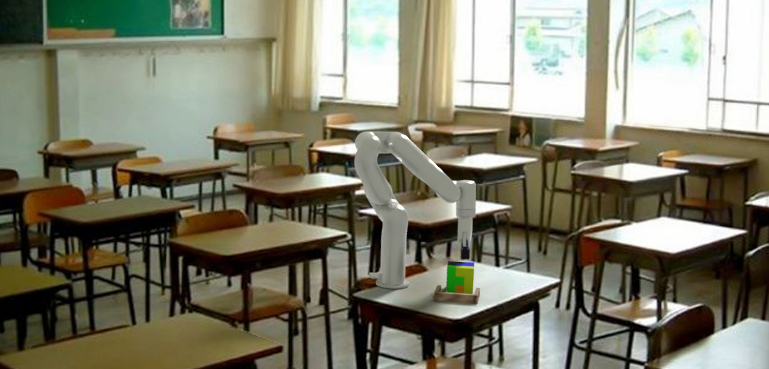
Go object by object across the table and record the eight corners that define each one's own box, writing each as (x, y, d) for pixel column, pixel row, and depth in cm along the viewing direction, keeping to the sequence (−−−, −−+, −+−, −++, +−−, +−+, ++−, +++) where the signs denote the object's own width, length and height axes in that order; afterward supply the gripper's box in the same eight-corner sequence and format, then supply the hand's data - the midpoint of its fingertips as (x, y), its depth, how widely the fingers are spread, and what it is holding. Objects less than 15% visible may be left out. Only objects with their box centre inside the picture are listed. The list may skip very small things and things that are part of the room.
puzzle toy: (473, 287, 409) (474, 262, 408) (472, 294, 399) (473, 268, 398) (447, 286, 410) (448, 261, 409) (446, 293, 400) (447, 267, 399)
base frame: (433, 300, 389) (433, 292, 389) (437, 292, 400) (437, 285, 400) (477, 303, 387) (477, 295, 386) (479, 295, 398) (480, 287, 397)
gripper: (457, 208, 419) (457, 254, 422) (454, 216, 404) (453, 263, 407) (477, 209, 418) (476, 254, 421) (474, 216, 403) (473, 263, 406)
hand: (465, 258), depth 414 cm, fingers closed
